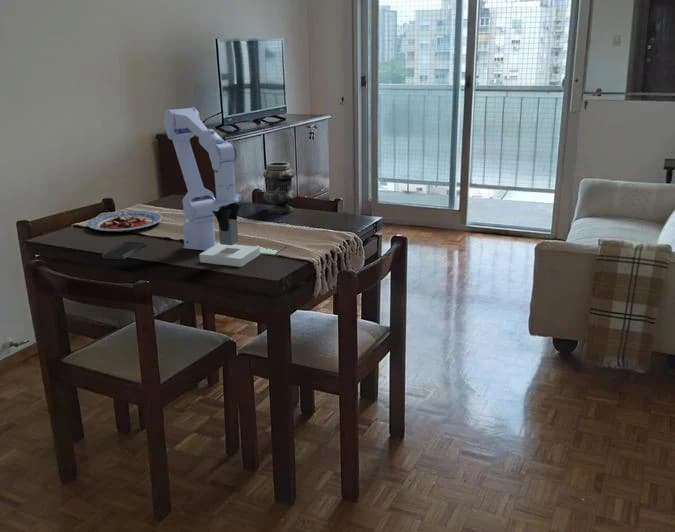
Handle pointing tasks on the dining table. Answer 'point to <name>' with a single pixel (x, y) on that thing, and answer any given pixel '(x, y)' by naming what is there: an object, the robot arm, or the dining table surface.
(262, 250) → the pad
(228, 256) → the white board with hole
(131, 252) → the phone
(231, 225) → the plug
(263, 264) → the dining table surface
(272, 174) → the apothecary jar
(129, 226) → the ceramic plate
